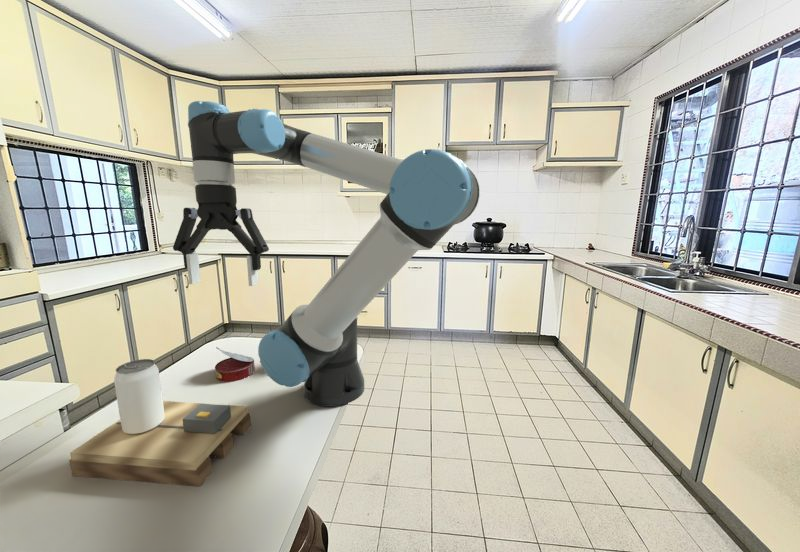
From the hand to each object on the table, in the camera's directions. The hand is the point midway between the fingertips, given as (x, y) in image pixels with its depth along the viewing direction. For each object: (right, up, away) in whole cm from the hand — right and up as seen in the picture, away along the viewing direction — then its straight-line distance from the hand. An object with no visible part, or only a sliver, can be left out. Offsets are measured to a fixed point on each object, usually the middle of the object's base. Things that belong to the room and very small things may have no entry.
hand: (224, 284), depth 73 cm
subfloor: (-5, -31, -10) cm, 33 cm away
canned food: (-7, -26, +20) cm, 33 cm away
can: (-10, -27, -11) cm, 30 cm away
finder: (+2, -26, -10) cm, 28 cm away
